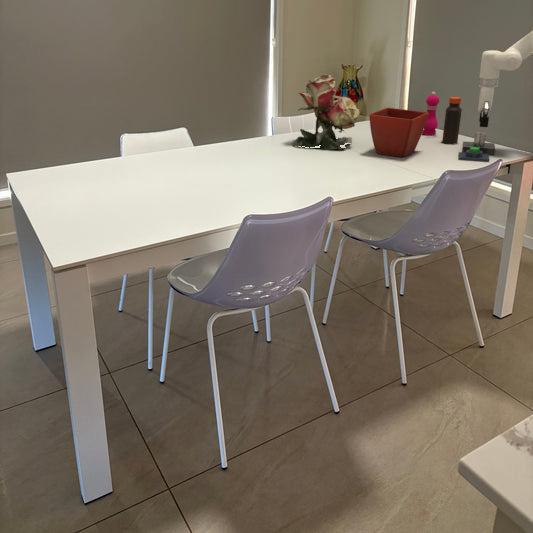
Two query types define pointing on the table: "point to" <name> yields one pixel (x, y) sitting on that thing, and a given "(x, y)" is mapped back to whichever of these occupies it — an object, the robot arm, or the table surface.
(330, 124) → the rose bouquet
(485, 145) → the dial panel
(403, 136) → the flower pot
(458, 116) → the bottle
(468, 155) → the housing
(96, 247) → the table surface
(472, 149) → the start button
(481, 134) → the program dial
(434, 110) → the pepper mill
